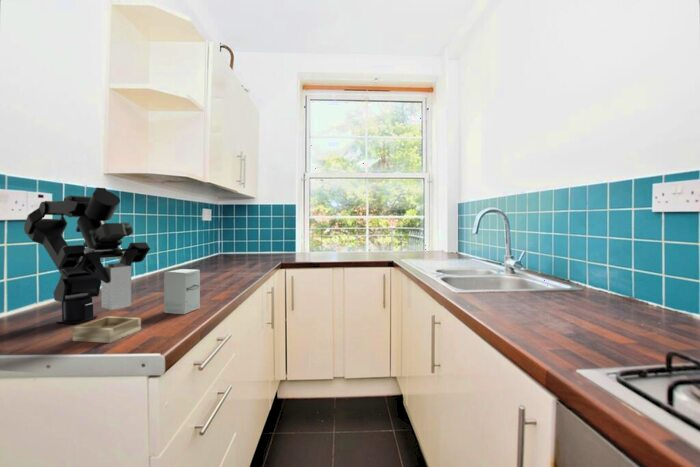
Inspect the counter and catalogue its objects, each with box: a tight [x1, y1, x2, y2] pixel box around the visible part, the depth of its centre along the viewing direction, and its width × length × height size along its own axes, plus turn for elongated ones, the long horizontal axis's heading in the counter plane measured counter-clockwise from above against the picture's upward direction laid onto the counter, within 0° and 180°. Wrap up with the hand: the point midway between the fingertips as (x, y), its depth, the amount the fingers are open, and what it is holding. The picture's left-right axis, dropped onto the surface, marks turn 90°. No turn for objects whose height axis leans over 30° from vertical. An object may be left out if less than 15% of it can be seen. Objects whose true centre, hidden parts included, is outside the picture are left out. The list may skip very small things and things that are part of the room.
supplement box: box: [163, 268, 201, 315], centre depth 103 cm, size 7×7×13 cm
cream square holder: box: [72, 315, 142, 344], centre depth 81 cm, size 10×10×3 cm
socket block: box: [100, 262, 132, 311], centre depth 81 cm, size 4×4×11 cm
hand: (119, 280), depth 81 cm, fingers closed on socket block, 4 cm apart
